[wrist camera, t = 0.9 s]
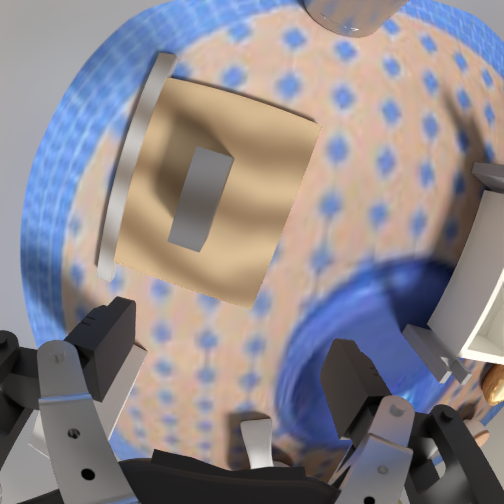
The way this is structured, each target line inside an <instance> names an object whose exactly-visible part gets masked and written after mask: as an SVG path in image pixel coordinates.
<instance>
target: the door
mask: <svg viewBox="0 0 504 504" xmlns="http://www.w3.org/2000/svg"><path fill="white" fill-rule="evenodd" d="M178 61H179V59H178V58H177V56H176V55H173V54H167V53H161V52H160V53H159V55H158V57H157V59H156V62H155V64H154V66H153V68H152V71H151V73H150V75H149V78H148V80H147V82H146V85H145V87H144V90H143V92H142V95H141V98H140V100H139V103H138V105H137V108H136V111H135V114H134V117H133V119H132V122H131V125H130V128H129V131H128V134H127V138H126V141H125V144H124V147H123V151H122V154H121V157H120V161H119V164H118V168H117V172H116V176H115V180H114V184H113V188H112V192H111V196H110V200H109V205H108V210H107V215H106V219H105V225H104V230H103V236H102V241H101V248H100V254H99V261H98V268H97V276H96V277H97V278H100V279H102V280H105V281H107V282H109V283H110V282H111V281H112V280H113V279H114V278H115V273H116V267H117V263H118V264H121V265H123V266H126V267H129V268H131V269H134V270H137V271H139V272H142V273H145V274H147V275H150V276H153V277H155V278H158V279H161V280H164V281H167V282H169V283H172V284H175V285H178V286H181V287H184V288H187V289H190V290H192V291H195V292H198V293H201V294H204V295H207V296H210V297H213V298H216V299H219V300H223V301H226V302H229V303H232V304H235V305H238V306H241V307H245V308H248V309H251V308H252V306H253V304H254V301H255V299H256V296H257V294H258V291H259V289H260V286H261V284H262V281H263V279H264V276H265V274H266V271H267V269H268V266H269V264H270V261H271V259H272V256H273V254H274V251H275V249H276V246H277V244H278V241H279V239H280V236H281V233H282V231H283V228H284V226H285V223H286V221H287V218H288V215H289V213H290V210H291V208H292V205H293V202H294V200H295V197H296V195H297V192H298V189H299V187H300V184H301V181H302V179H303V176H304V173H305V171H306V168H307V166H308V163H309V160H310V157H311V155H312V152H313V149H314V147H315V144H316V141H317V139H318V136H319V133H320V130H321V128H322V126H321V125H319V124H316V123H314V122H312V121H309V120H307V119H304V118H302V117H299V116H297V115H294V114H292V113H289V112H286V111H284V110H281V109H278V108H275V107H273V106H270V105H267V104H264V103H261V102H258V101H255V100H252V99H249V98H246V97H243V96H239V95H236V94H233V93H229V92H226V91H222V90H219V89H215V88H211V87H207V86H203V85H199V84H195V83H191V82H187V81H182V80H178V79H173V78H171V77H172V74H173V72H174V70H175V68H176V65H177V63H178Z"/></svg>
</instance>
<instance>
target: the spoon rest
mask: <svg viewBox="0 0 504 504" xmlns="http://www.w3.org/2000/svg"><path fill="white" fill-rule="evenodd" d="M241 431H242V436H243V439H244V443H245V446H246V450H247V453H248V457H249V461H250V466H251V468H250V469H255V468H262V467H268V466H273V467H290V466H288V465H286V464H284V463H282V462H278V461H272V455H271V438H272V419H260V420H249V421H243V422H241Z"/></svg>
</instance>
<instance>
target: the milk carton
mask: <svg viewBox="0 0 504 504" xmlns="http://www.w3.org/2000/svg"><path fill="white" fill-rule="evenodd" d="M147 354H148V352H147V351H145V350H143V349H141V348H140V347H138V346H136V345H134V344H133V347H132V349H131V351H130V353H129V354H128V356H127V358H126V360H125V361H124V363H123V365H122V367H121V369H120V370H119V372H118V374H117V376H116V377H115V379H114V381H113V383H112V385H111V387H110V388H109V390H108V392H107V394H106V396H105V398H104V400H103V402H102V403H101V402H98V401H95V400H93V402H94V405H95V408H96V411H97V414H98V416H99V419H100V422H101V424H102V427H103V429H104V432H105V434H106V437H107V439H108V441H109V439H110V437H111V434H112V432H113V430H114V427H115V425H116V423H117V420H118V418H119V416H120V414H121V411H122V409H123V407H124V405H125V402H126V400H127V398H128V396H129V394H130V391H131V389H132V387H133V385H134V383H135V380H136V378H137V376H138V374H139V372H140V369H141V367H142V365H143V363H144V361H145V358H146V356H147ZM28 444H29V445H30V446H32V447H33V448H34V449H36V450H37V451H39V452H40V453H42V454H43V455H45V456H46V457H48V458H49V459H50V457H49V453H48V449H47V445H46V440H45V436H44V431H43V426H42V421H41V415H40V411H39V414H38V417H37V420H36V423H35V426H34V429H33V433H32V436H31V438H30V440H29V441H28Z"/></svg>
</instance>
